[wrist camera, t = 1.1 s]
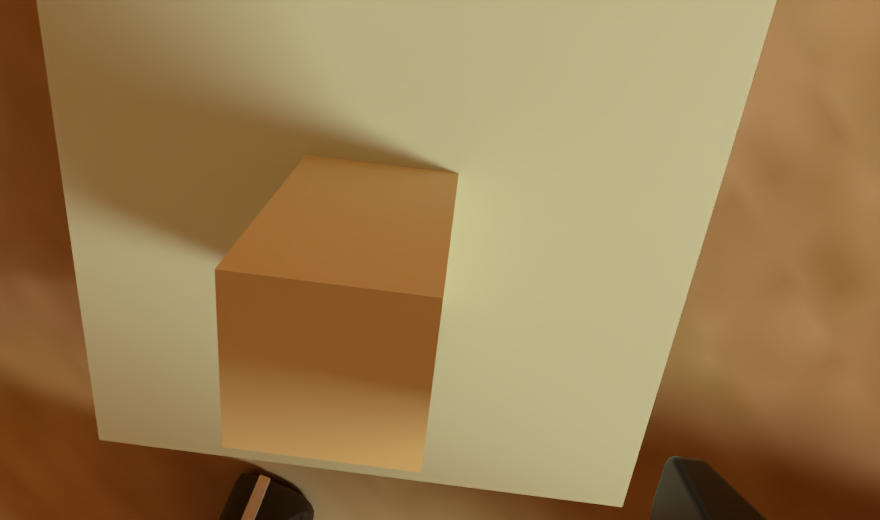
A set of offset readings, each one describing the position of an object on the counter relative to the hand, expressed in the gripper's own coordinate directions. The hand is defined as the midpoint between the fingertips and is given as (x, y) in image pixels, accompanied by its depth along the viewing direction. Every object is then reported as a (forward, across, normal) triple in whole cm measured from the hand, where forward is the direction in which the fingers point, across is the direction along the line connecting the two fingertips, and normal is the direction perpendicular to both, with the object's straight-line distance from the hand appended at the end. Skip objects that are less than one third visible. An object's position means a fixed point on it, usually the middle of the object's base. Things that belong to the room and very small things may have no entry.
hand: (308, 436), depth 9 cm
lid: (+7, 0, 0) cm, 7 cm away
